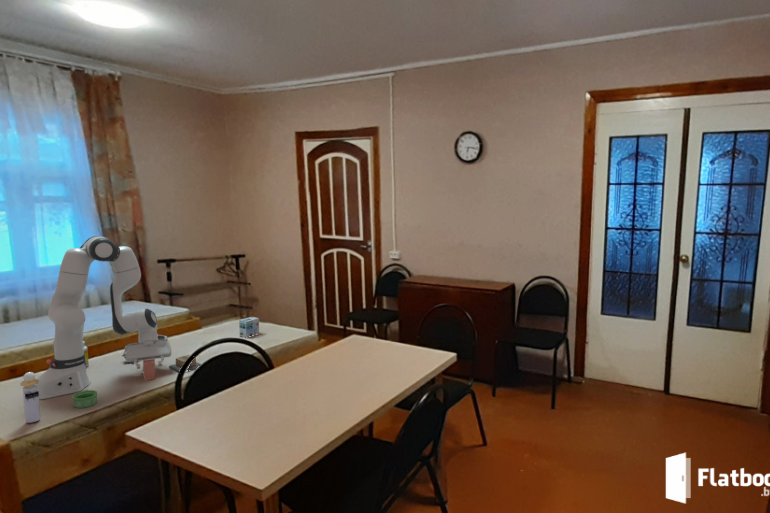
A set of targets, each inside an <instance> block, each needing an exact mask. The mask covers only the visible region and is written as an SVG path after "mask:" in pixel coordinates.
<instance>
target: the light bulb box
mask: <svg viewBox="0 0 770 513" xmlns="http://www.w3.org/2000/svg"><path fill="white" fill-rule="evenodd" d="M238 324H239V337H240V336H242V337H241V338H243V337H249V336H252V335H256V334H259V335H260V318H259V317H255V316H250V317H246V318H242V319H239V323H238ZM256 336H257V335H256ZM249 338H250V337H249Z"/></svg>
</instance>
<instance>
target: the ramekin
mask: <svg viewBox="0 0 770 513" xmlns="http://www.w3.org/2000/svg"><path fill="white" fill-rule="evenodd" d="M98 394H99V393H98V391H97V390H94V389H88V390H81V391H79V392H75V393H74V394H73V395H72V396H71V398H72V401H73V406H74V407H75V408H77V409H84V408H89V407H92V406H94V405H96V404H97V401H98Z"/></svg>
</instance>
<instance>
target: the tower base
mask: <svg viewBox="0 0 770 513" xmlns="http://www.w3.org/2000/svg"><path fill="white" fill-rule="evenodd" d="M190 356H191V355H190V354H187V355H186V354H185V355H182V356H178V357H176V358H175V364H171V365H169V366H168V368H169V369H170V370H172V371H174V372H177V373H179V370H180V368H181V367H182V366H183V364H184V363H185V361H186V360H187V359H188V358H189V357H190ZM201 364H202V363H199V362H197V358H196V357H195V359H194V360H193V361H192V363H191V364H190V366H189V368H188V369H187V370H188V372H190V371H189V370H192V371H194V370H197V369H196V368H197V367H198V366H200V365H201Z"/></svg>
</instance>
